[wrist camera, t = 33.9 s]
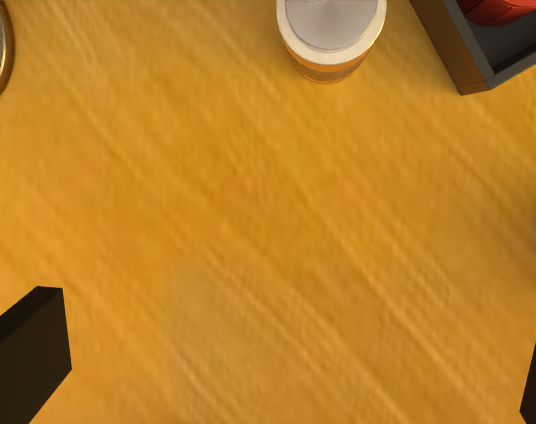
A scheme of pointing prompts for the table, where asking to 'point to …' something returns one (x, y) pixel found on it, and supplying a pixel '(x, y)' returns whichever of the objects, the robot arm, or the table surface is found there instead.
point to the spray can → (329, 35)
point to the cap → (495, 11)
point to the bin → (477, 45)
